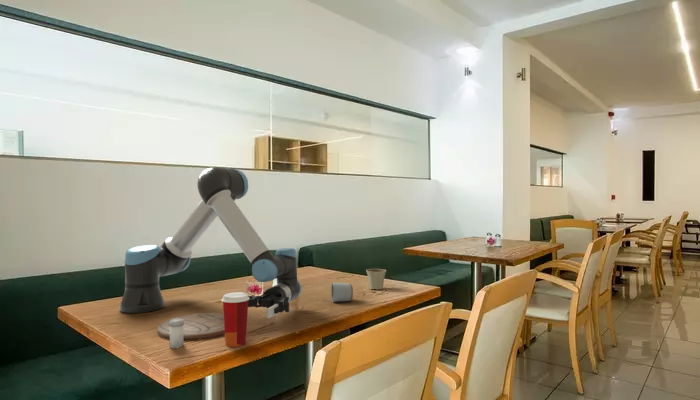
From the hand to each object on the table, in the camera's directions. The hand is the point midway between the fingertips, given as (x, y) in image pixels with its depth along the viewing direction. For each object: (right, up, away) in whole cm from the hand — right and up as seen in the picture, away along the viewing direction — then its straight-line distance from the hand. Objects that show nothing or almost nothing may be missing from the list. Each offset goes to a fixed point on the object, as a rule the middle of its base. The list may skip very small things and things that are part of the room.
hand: (247, 312), depth 127 cm
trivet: (-18, -8, +10) cm, 22 cm away
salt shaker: (-18, -8, -7) cm, 21 cm away
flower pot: (+43, -8, +70) cm, 82 cm away
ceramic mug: (+27, -8, +47) cm, 55 cm away
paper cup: (-2, -8, -5) cm, 10 cm away
